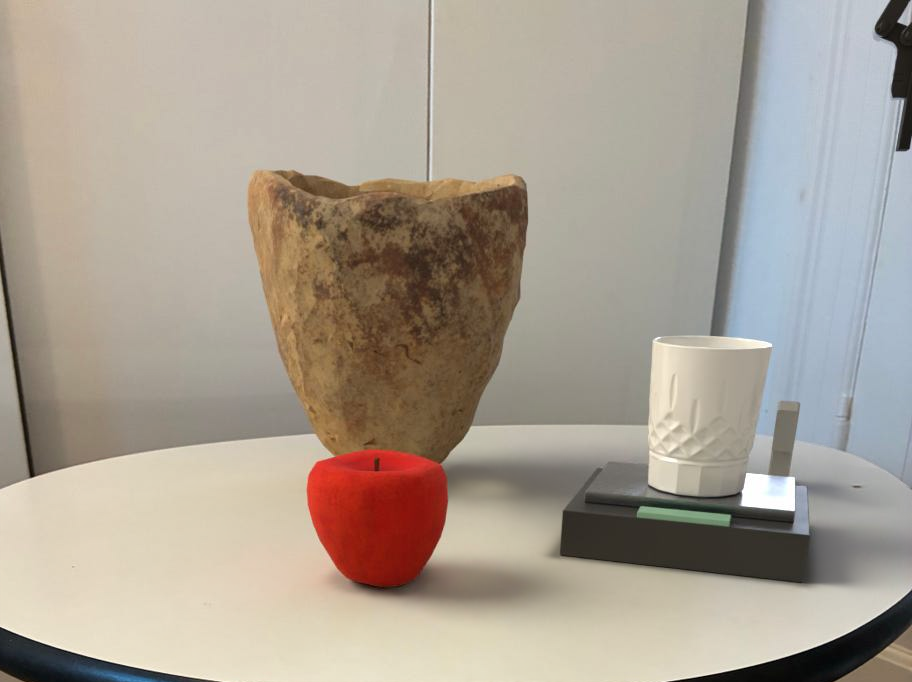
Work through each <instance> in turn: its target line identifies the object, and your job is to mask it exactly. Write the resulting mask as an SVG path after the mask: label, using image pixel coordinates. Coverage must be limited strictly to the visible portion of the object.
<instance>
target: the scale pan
mask: <svg viewBox="0 0 912 682" xmlns="http://www.w3.org/2000/svg"><path fill="white" fill-rule="evenodd" d="M603 468H604V469H603V470H602V471H601V472H600V474H599V475H598V476H597V477H596V479H595V480H594V481H593V482H592V484H591V485H590V486H589V487H588V489H587V490H586V491H585V500H584V501H585V502H589V503H599V504H609V505H619V506H629V507H639V508H640V507H641V506H645V507H655V508H665V509H676V510H686V511H696V512H706V513H717V514H727V515H731V517H741V518H751V519H761V520H772V521H782V522H792V523H793V522H794V518H795V485H796V477H794V476H789V477H783V476H772V475H768V474H761V473H759V474H758V473H748V472H747V473H746V479H745V485H744V489H743V490H742V491H740V492H739V493H737V494H735V495H728V496H721V497H696V496H687V495H678V494H673V493H669V492H665V491H661V490H658V489H656V488H654V487H652V486H650V485H649V484H648V464H643V463H632V462H622V461H608V462H607V463H606V465H605V466H604V467H603Z"/></svg>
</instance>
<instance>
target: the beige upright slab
mask: <svg viewBox="0 0 912 682" xmlns="http://www.w3.org/2000/svg"><path fill="white" fill-rule="evenodd" d="M800 411H801V403H800V402H799V401H793V400H792V401H791V400H779V401H778V403H777V410H776V415H775V423H774V429H773V436H772V437H773V438H772V444H771V451H770V452H771V453H770V459H769V465H768V473H767V475H772V476H783V477H790V473H791V472H790V471H791V465H792V458H793V453H794V448H795V442H796V441H795V440H796V436H797V429H798V423H799V416H800Z"/></svg>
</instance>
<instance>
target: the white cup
mask: <svg viewBox="0 0 912 682" xmlns="http://www.w3.org/2000/svg"><path fill="white" fill-rule="evenodd" d="M651 342H652V344H651V364H650V382H649V395H648V397H649V398H648V408H649V412H648V422H647V425H648V426H647V427H648V436H647V446H648V447H649V448H648V449H649V450H648V464H647V465H648V484H649V485H650V486H652V487H654V488H656V489H658V490H661V491H665V492H669V493H673V494H678V495H687V496H696V497H721V496H728V495H735V494H737V493H739V492H740V491H742V490H743V489H744V485H745V479H746V473H748V467H749V461H750V457H749V456H750V454H751V452H752V451H753V448H754V442H755V438H756V433H757V427H758V424H759V421H760V420H759V419H760V413H761V409H762V403H763V397H764V393H765V387H766V382H767V376H768V371H769V365H770V359H771V354H772V349H773V344H772V343H769V342H767V341H763V340H757V339H750V338H744V337H743V338H742V337H731V336H718V335H717V336H713V335H668V336H667V335H666V336H659V337H655V338H653V339H652V341H651Z"/></svg>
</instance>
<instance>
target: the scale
mask: <svg viewBox="0 0 912 682" xmlns="http://www.w3.org/2000/svg"><path fill="white" fill-rule="evenodd" d="M603 469H604V467H603V468H602V467H598V468H596V470H594V472H593V473H592V474H591V475H590V477H589V478H588V479H587V480H586V481H585V483H584V484H583V485H582V487H581V488H580V489H579V490H578V491H577V493H576V494H575V495H574V496H573V498H572V499H571V500H570V501H569V502H568V503H567V505H566V506H565V508H564V509H562V514H561V515H562V516H561V532H560V542H559V543H560V545H559V556H566V557H576V558H585V559H593V560H601V561H610V562H619V563H627V564H636V565H646V566H653V567H654V566H655V567H663V568H672V569H678V570H679V569H681V570H690V571H696V572H697V571H698V572H705V573H706V572H707V573H716V574H723V575H732V576H733V575H734V576H740V577H750V578H760V579H767V580H768V579H769V580H776V581H787V582H793V583H803V582H804V576H805V568H806V562H807V557H808V550H809V546H810V539H811V529H810V528H811V527H810V526H811V525H810V510H809V509H810V508H809V489H808V486H806V485H796V484H795V518H794V522H793V523H792V522H782V521H772V520H761V519H751V518H741V517H731V515H727V514H717V513H706V512H696V511H686V510H676V509H665V508H655V507H645V506H641V507H640V508H639V507H629V506H619V505H609V504H599V503H589V502H585V501H584V500H585V491H586V490H587V489H588V487H589V486H590V485H591V484H592V482H593V481H594V480H595V479H596V477H597V476H598V475H599V474H600V472H601V471H602V470H603Z"/></svg>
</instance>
